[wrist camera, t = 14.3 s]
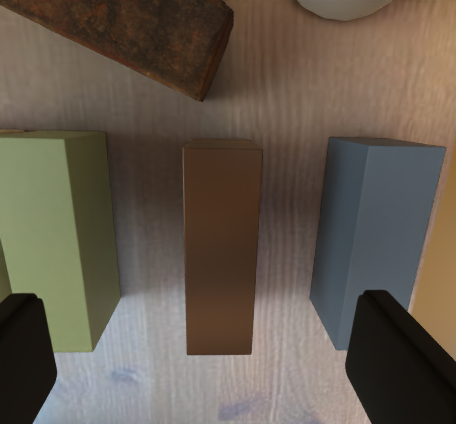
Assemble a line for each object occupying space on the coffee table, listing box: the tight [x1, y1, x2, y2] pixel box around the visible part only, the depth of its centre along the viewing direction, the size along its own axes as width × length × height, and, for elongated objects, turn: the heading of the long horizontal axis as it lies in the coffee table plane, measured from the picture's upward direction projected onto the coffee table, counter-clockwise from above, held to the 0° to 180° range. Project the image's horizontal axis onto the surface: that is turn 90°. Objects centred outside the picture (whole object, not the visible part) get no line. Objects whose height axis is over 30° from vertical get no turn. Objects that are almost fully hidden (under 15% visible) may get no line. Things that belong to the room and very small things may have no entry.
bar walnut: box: [182, 139, 263, 355], centre depth 17 cm, size 11×4×5 cm, turn 179°
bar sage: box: [0, 130, 121, 352], centre depth 17 cm, size 11×4×5 cm, turn 179°
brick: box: [0, 0, 234, 102], centre depth 14 cm, size 11×4×5 cm, turn 65°
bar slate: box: [310, 137, 446, 350], centre depth 18 cm, size 11×4×5 cm, turn 179°
